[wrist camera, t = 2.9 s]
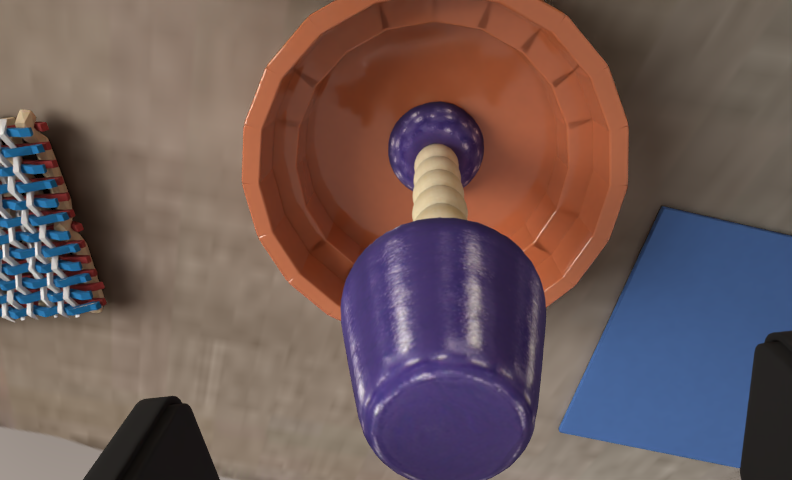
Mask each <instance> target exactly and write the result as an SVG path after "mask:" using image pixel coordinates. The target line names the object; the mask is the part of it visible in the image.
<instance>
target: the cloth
mask: <svg viewBox="0 0 792 480" xmlns="http://www.w3.org/2000/svg"><path fill="white" fill-rule="evenodd" d="M783 331H792V236H791V235H786V234H782V233H777V232H773V231H769V230H764V229H760V228H756V227H751V226H747V225H743V224H738V223H734V222H730V221H725V220H721V219H716V218H712V217H708V216H703V215H699V214H695V213H690V212H686V211H682V210H677V209H673V208H669V207H664V206H662V207H661V209H660V211H659V213H658V215H657V217H656V220H655V222H654V224H653V226H652V228H651V230H650V233H649V235H648V237H647V239H646V241H645V243H644V246H643V248H642V250H641V252H640V254H639V256H638V258H637V261H636V263H635V265H634V267H633V269H632V271H631V274H630V276H629V278H628V280H627V282H626V284H625V286H624V289H623V291H622V293H621V295H620V297H619V299H618V302H617V304H616V306H615V308H614V310H613V312H612V315H611V317H610V319H609V321H608V323H607V325H606V327H605V330H604V332H603V334H602V336H601V338H600V340H599V343H598V345H597V347H596V349H595V351H594V353H593V355H592V358H591V360H590V362H589V364H588V366H587V368H586V371H585V373H584V375H583V377H582V379H581V381H580V384H579V386H578V388H577V390H576V392H575V394H574V396H573V399H572V401H571V403H570V405H569V407H568V409H567V412H566V414H565V416H564V418H563V420H562V422H561V424H560V427H559V431H560V432H561V433H566V434H571V435H576V436H581V437H586V438H591V439H596V440H601V441H606V442H611V443H616V444H621V445H626V446H631V447H636V448H641V449H646V450H651V451H656V452H661V453H666V454H671V455H676V456H681V457H686V458H691V459H696V460H701V461H706V462H711V463H716V464H721V465H726V466H731V467H736V468H740V465H741V457H742V449H743V441H744V433H745V424H746V416H747V408H748V400H749V392H750V384H751V376H752V367H753V359H754V352H755V348H756V346H757V345H758V344H761V343H764V342H765V338H766V337H767V336H768V334H770V333H773V332H783Z"/></svg>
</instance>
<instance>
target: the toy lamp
mask: <svg viewBox="0 0 792 480" xmlns="http://www.w3.org/2000/svg"><path fill="white" fill-rule="evenodd" d="M388 155H389V162H390V165H391V167H392V169H393V172H394V173H395V175H396V176H397V178H398V179H399V180H400V182H401V183H402V184H404V185H405V186H406V187H407V188H408V189H410V190H411V191H413V203H414V206H413V211H412V219H413V222H410V223H406V224H402V225H400V226H398V227H396V228H395V229H393V230H391V231H388V232H386V233H385V234H384V235H382V236H380V237H379V238H377V239H376V240H375V241H374V242H373V243H372V244H370V245H369V246H368V247H367V248H366V249H365V250H364V251H363V252H362V253H361V255H360V256H359V257H358V258H357V260H356V261H355V263H354V265H353V267H352V269H351V270H350V272H349V274H348V277H347V279H346V281H345V285H344V288H343V294H342V298H341V324H342V331H343V337H344V343H345V348H346V354H347V360H348V366H349V371H350V376H351V381H352V386H353V392H354V397H355V402H356V407H357V412H358V417H359V420H360V423H361V427H362V430H363V433H364V436H365V438H366V440H367V442H368V444H369V445H370V447H371V448H372V450H373V451H374V453H375V454H376V455H377V456H378V458H379V459H380V460H381V461H382V462H383V463H384V464H386V465H387V466H388V467H389V468H391V469H392V470H393V471H395V472H396V473H397V474H399V475H401V476H403V477H405V478H407V479H410V480H487V479H490V478H492V477H494V476H496V475H497V474H499V473H501V472H502V471H504V470H505V469H507V468H508V467H510V466H511V465H512V464H513V463H514V462H515V461H516V460H517V459H518V458H519V456H520V455H521V454H522V453H523V451H524V450H525V449H526V447H527V445H528V443H529V441H530V439H531V436H532V434H533V431H534V426H535V418H536V414H537V409H538V401H539V391H540V381H541V371H542V361H543V348H544V338H545V326H546V302H545V295H544V290H543V286H542V283H541V280H540V277H539V275H538V273H537V271H536V269H535V267H534V265H533V263H532V261H531V260H530V259H529V258H528V257H527V256H526V255H525V253H524V252H523V250H522V249H521V248H520V247H519V246H518V245H517V244H516V243H514V242H513V241H512V240H511V239H510V238H508V237H507V236H505V235H503V234H501V233H499V232H498V231H496V230H494V229H492V228H490V227H488V226H485V225H483V224H481V223H478V222H473V221H468V220H467V217H468V210H467V205H466V202H465V200H464V190H463V188H464V187H465V186H466V185H468V184H469V183H470V182H471V180H472V179H473V178H474V177H475V175H476V174H477V172H478V170H479V168H480V166H481V163H482V160H483V155H484V139H483V135H482V132H481V130H480V128H479V126H478V124H477V123H476V121H475V120H474V119H473V117H472V116H470V115H469V114H468V113H467V112H466V111H465V110H464V109H462V108H460V107H458V106H456V105H454V104H450V103H446V102H441V101H440V102H429V103H425V104H423V105H419V106H416V107H414V108H412V109H410V110H409V111H408V112H406V113H405V114H404V115H403V116H402V117H401V118H400V119H399V120H398V121H397V122H396V124H395V126H394V128H393V130H392V132H391V134H390V138H389V143H388Z"/></svg>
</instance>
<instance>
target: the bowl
mask: <svg viewBox="0 0 792 480" xmlns="http://www.w3.org/2000/svg"><path fill="white" fill-rule="evenodd" d="M440 101H441V102H446V103H450V104H454V105H456V106H458V107H460V108H462V109H464V110H465V111H466V112H467V113H468V114H469V115H470V116H472V117H473V119H474V120H475V121H476V123H477V124H478V126H479V128H480V130H481V132H482V135H483V139H484V155H483V160H482V163H481V166H480V168H479V170H478V172H477V174H476V175H475V177H474V178H473V179H472V180H471V182H470V183H469V184H468V185H466V186H465V187H464V188H463V190H464V200H465V202H466V205H467V210H468V217H467V220H468V221H473V222H478V223H481V224H483V225H485V226H488V227H490V228H492V229H494V230H496V231H498V232H499V233H501V234H503V235H505V236H507V237H508V238H510V239H511V240H512V241H513V242H514V243H516V244H517V245H518V246H519V247H520V248H521V249H522V250H523V252H524V253H525V255H526V256H527V257H528V258H529V259H530V260H531V261H532V263H533V265H534V267H535V269H536V271H537V273H538V275H539V277H540V280H541V283H542V286H543V290H544V295H545V302H546V307H548V306H549V305H550V304H552V303H553V302H554V301H556V300H557V299H558V298H560V297H561V296H562V295H564V294H565V293H566V292H568V291H569V290H570V289H572V288H573V287H574V286H575V285H576V284H577V283H578V282H579V280H580V279H581V278H582V276H583V275H584V273H585V272H586V271H587V269H588V268H589V267H590V265H591V264H592V263H593V261H594V260H595V259H596V257H597V256H598V255H599V253H600V252H601V251H602V249H603V248H604V247H605V245H606V244H607V243H608V240H609V239H610V237H611V234H612V231H613V228H614V225H615V222H616V219H617V217H618V214H619V211H620V208H621V205H622V202H623V199H624V197H625V194H626V191H627V188H628V186H627V185H628V154H629V127H628V121H627V118H626V115H625V112H624V109H623V106H622V103H621V100H620V97H619V94H618V91H617V89H616V86H615V83H614V80H613V77H612V74H611V71H610V68H609V67H608V64H607V63H606V62H605V60H604V59H603V58H602V57H601V56H600V54H599V53H598V52H597V51H596V50H595V48H594V47H593V46H592V45H591V43H590V42H589V41H588V40H587V39H586V37H585V36H584V35H583V34H582V32H581V31H580V30H579V29H578V28H577V26H576V25H575V24H574V23H573V21H572V20H571V19H570V18H569V17H568V16H567V15H565V13H563V12H561V11H560V10H558V9H556V8H555V7H553V6H551V5H549V4H548V3H546V2H544V1H542V0H335V1H333V2H331V3H330V4H328V5H326V6H324V7H323V8H321V9H319V10H318V11H316V12H314V13H312V14H311V15H309V17H307V18H306V19H305V20H304V22H303V23H302V24H301V25H300V26H299V28H298V29H297V30H296V31H295V32H294V33H293V35H292V36H291V37H290V38H289V39H288V41H287V42H286V43H285V44H284V45H283V47H282V48H281V49H280V50H279V51H278V52H277V54H276V55H275V56H274V57H273V58H272V60H271V61H270V62H269V63H268V64H267V67H266V68H265V70H264V72H263V75H262V78H261V80H260V83H259V86H258V88H257V91H256V93H255V96H254V99H253V101H252V104H251V107H250V109H249V112H248V114H247V117H246V120H245V125H244V127H243V158H242V183H243V184H242V186H243V189H244V192H245V196H246V199H247V203H248V206H249V209H250V213H251V216H252V220H253V223H254V226H255V230H256V233H257V236H258V238H259V240H260V241H261V243H262V244H263V246H264V247H265V249H266V250H267V252H268V253H269V255H270V256H271V258H272V259H273V261H274V262H275V264H276V265H277V267H278V268H279V270H280V271H281V273H282V274H283V276H284V277H285V279H286V280H287V281H289V284H291V285H292V286H293V287H294V288H295V289H297V290H298V291H299V292H300V293H302V294H303V295H304V296H305V297H306V298H308V299H309V300H310V301H311V302H313V303H314V304H315V305H316V306H317V307H319V308H320V309H321V310H322V311H323V312H325V313H326V314H327V315H330V316H331V317H333V318H335V319H337V320H340V321H341V298H342V294H343V288H344V285H345V281H346V279H347V277H348V274H349V272H350V270H351V269H352V267H353V265H354V263H355V261H356V260H357V258H358V257H359V256H360V255H361V253H362V252H363V251H364V250H365V249H366V248H367V247H368V246H369V245H370V244H372V243H373V242H374V241H375V240H376V239H377V238H379V237H380V236H382V235H384V234H385V233H386V232H388V231H391V230H393V229H395V228H396V227H398V226H400V225H402V224H406V223H410V222H413V219H412V211H413V206H414V203H413V191H411V190H410V189H408V188H407V187H406V186H405V185H404V184H402V183H401V182H400V180H399V179H398V178H397V176H396V175H395V173H394V172H393V169H392V167H391V165H390V162H389V155H388V143H389V138H390V134H391V132H392V130H393V128H394V126H395V124H396V122H397V121H398V120H399V119H400V118H401V117H402V116H403V115H404V114H405V113H406V112H408V111H409V110H410V109H412V108H414V107H416V106H419V105H423V104H425V103H429V102H440Z"/></svg>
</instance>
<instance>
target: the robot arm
mask: <svg viewBox="0 0 792 480" xmlns="http://www.w3.org/2000/svg"><path fill="white" fill-rule="evenodd" d="M740 475H741V480H792V331H783V332H773V333H770V334H768V336H767V337H766V338H765V342H764V343H761V344H758V345H757V346H756V348H755V352H754V359H753V367H752V376H751V384H750V392H749V400H748V408H747V416H746V424H745V433H744V441H743V449H742V457H741V465H740ZM83 480H220V479H219V477H218V474H217V472H216V469H215V467H214V464H213V462H212V459H211V457H210V454H209V452H208V449H207V447H206V444H205V442H204V439H203V437H202V434H201V432H200V429H199V427H198V424H197V422H196V419H195V417H194V414H193V412H192V409H191V408H190V406H189V405H188V404H185V403H183V404H182V402H181V400H180V399H179V398H178V397H175V396H168V397H159V398H149V399H143V400H141V401H139V402H138V403H137V404H136V405H135V407H134V408H133V410H132V411H131V412H130V414H129V415H128V417H127V418H126V419H125V421H124V422H123V424H122V425H121V427H120V428H119V429H118V431H117V432H116V434H115V435H114V436H113V438H112V439H111V441H110V442H109V444H108V445H107V446H106V448H105V449H104V451H103V452H102V453H101V455H100V456H99V458H98V459H97V461H96V462H95V463H94V465H93V466H92V468H91V469H90V470H89V472H88V473H87V475H86V476H85V477H84V479H83Z"/></svg>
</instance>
